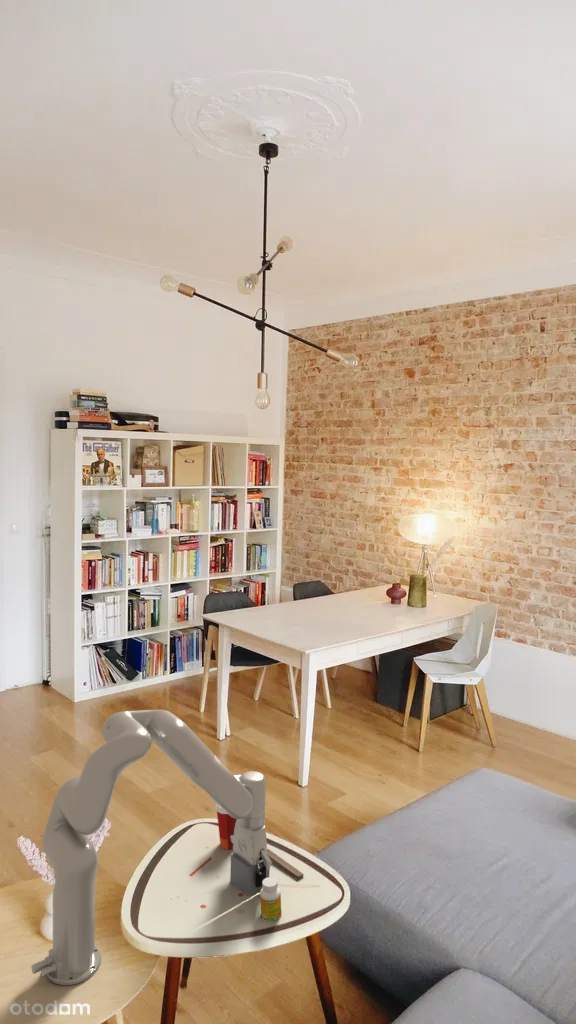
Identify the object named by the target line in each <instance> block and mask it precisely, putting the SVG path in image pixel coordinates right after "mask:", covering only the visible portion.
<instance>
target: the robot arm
mask: <svg viewBox="0 0 576 1024" xmlns="http://www.w3.org/2000/svg"><path fill="white" fill-rule="evenodd" d="M101 731H102V732H101V733H102V738H103V739H104V741H105V743H104V744H103V745H102V746H100V747H99V748H97V749H96V750H94V752H92V754H90V756H89V757H88V758H87V760H86V762H85V764H84V765H83V769H82V771H81V773H80V776H74V777H72V778H70V779H68V780H67V781H66V782H64V783H63V784H62V786H60V788H59V790H58V791H57V793H56V795H55V797H54V801H53V804H52V806H51V810H50V813H49V817H48V820H47V823H46V827H45V829H44V833H43V837H42V849H43V852H44V854H45V856H46V858H47V860H48V861H49V863H50V865H51V867H52V869H53V871H54V878H55V880H54V886H53V890H52V891H53V892H52V948H50V949H49V950H48V955H47V956H45V957H44V959H43V960H41V961H37V962H36V963H33V964H32V965H31V966H30V967H31V971H32V972H31V973H32V974H33V975H35V974H37V973H39V972H40V973H41V976H42V977H45V976H46V977H47V978H48V979H49V981H51V982H52V983H54V984H57V985H59V986H72V985H77V984H79V983H83V982H84V981H86V980H87V981H88V980H89V979H90V978H92V976H94V975H95V974H96V973H97V971H98V970H99V968H100V966H101V963H102V954H101V952H100V949H99V948H98V947H97V946H95V939H96V938H95V936H96V935H95V932H96V930H95V927H96V926H95V925H96V924H95V923H96V920H95V919H96V918H95V917H96V915H95V914H96V897H95V896H96V895H95V894H96V880H97V879H96V877H97V875H98V874H97V872H98V867H99V856H98V853H97V850H96V848H95V845H94V844H93V843H92V841H91V840H90V839H89V837H88V835H89V836H90V835H92V834H94V833H96V832H97V831H99V829H101V828H102V826H103V824H104V822H105V820H106V816H107V815H108V810H109V808H110V803H111V802H112V801H111V800H112V797H113V794H114V790H115V787H116V784H117V781H118V779H119V777H120V776H121V774H122V773H123V771H125V769H126V768H129V766H131V765H133V764H135V763H137V762H138V761H140V760H142V759H143V758H144V757H145V756H146V755H147V754H148V753H149V752H150V749H151V747H152V744H153V743H154V744H155V745H156V746H157V747H158V748H159V749H160V750H161V751H162V752H163V753H164V754H165V755H166V756H167V757H168V758H169V759H170V760H171V761H172V763H174V765H176V766H177V767H178V768H179V769H180V771H182V772H183V774H184V775H186V777H188V778H189V779H190V781H192V783H194V784H195V785H196V786H198V787H199V788H201V790H203V791H204V792H206V793H207V794H208V795H209V797H210V799H211V800H212V801H213V803H215V804H217V805H218V806H219V807H221V808H222V809H223V810H224V811H225V812H226V813H227V814H229V815H230V816H231V817H232V818H235V819H237V820H236V824H235V829H234V835H231V841H232V847H233V849H232V851H233V853H232V854H236V855H238V856H239V857H240V858H241V859H243V860H244V861H245V862H247V863H248V864H250V865H251V866H255V867H256V870H257V873H256V887H257V888H258V887H260V886H262V881H263V880H264V879H265V878H266V871H268V870H269V871H270V869H271V866H272V864H273V863H272V861H271V860H270V858H269V857H268V855H267V849H268V846H267V845H268V843H267V830H266V825H265V823H266V795H267V794H266V793H267V792H266V789H267V781H266V777H265V775H264V774H263V773H261V772H260V771H255V770H249V771H246V772H243V773H242V774H233V772H231V771H230V770H229V769H228V768H227V767H226V766H225V764H223V762H222V761H221V760H220V759H219V757H217V756H216V754H214V753H213V751H212V750H211V749H209V748H208V746H207V745H206V744H205V743H204V742H203V741H202V740H201V739H200V738H199V737H198V736H197V735H196V733H195V732H194V731H193V730H192V729H191V728H190V727H189V726H188V725H187V723H186V722H185V721H183V720H182V719H180V718H179V717H178V716H176V715H175V714H174V713H172V712H171V711H168V710H165V709H143V710H141V709H140V710H139V709H138V710H123V711H118V712H115V713H112V714H111V715H110V716H108V717H107V718H106V720H105V721H104V723H103V725H102V728H101ZM152 742H153V743H152ZM259 858H260V859H261V860H259ZM259 863H262V866H263V867H262V868H261V869H260V866H259Z"/></svg>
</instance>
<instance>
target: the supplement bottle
mask: <svg viewBox="0 0 576 1024" xmlns="http://www.w3.org/2000/svg"><path fill="white" fill-rule="evenodd" d="M281 893H282V892H281V889H280V887H279V885H278V880H277V878H276V877H271V876H269V877H268V878H265V879H264V880H263V881H262V887H261V888H260V891H259V898H260V899H259V901H260V902H259V903H260V918H261V919H262V920H263V921H266V922H275V921H277V920H279V919H280V918H281V917H282V896H281V895H282V894H281Z"/></svg>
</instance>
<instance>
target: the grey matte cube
mask: <svg viewBox="0 0 576 1024" xmlns="http://www.w3.org/2000/svg"><path fill="white" fill-rule="evenodd" d="M269 858H270V857H269ZM259 860H261V859H260V858H259ZM259 866H260V869H261V868H262V867H263V866H262V863H259ZM256 873H257V870H256V867H255V866H251V865H250V864H248V863H247V862H245V861H244V860H243V859H241V858H240V857H239V856H238V855H236V854H233V853H232V854H230V875H229V877H230V878H229V879H230V884H231V885H233V886H234V887H235V888H236V889H238V890H239V891H241V892H242V893H244V895H246V896H249V895H251V894H252V893H254V892H255V891H257V890H259V889H262V888H263V887H262V886H260V887H258V888H257V887H256ZM268 877H270V869H269V870H268V871H266V878H268Z"/></svg>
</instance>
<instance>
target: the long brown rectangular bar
mask: <svg viewBox="0 0 576 1024" xmlns="http://www.w3.org/2000/svg"><path fill="white" fill-rule="evenodd" d="M267 855H268V857H270V860H271V861H272V864H274V865H275V866H276V867H278V868H279V869H280V870H282V871H284V872H286V873H287V874H289V875H290V876H292V877H293V878H294V879H296V880H297V881H299V880H302V878H304V873H303V872H301V871H300V870H298V868H295V866H293V865H291V864H290V863H289V862H288V861H286V860H284V859H283V858H282V857H280V856H279V855H277V854H276V853H275V852H273V851H272V850H270V849H269V848H267Z"/></svg>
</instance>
